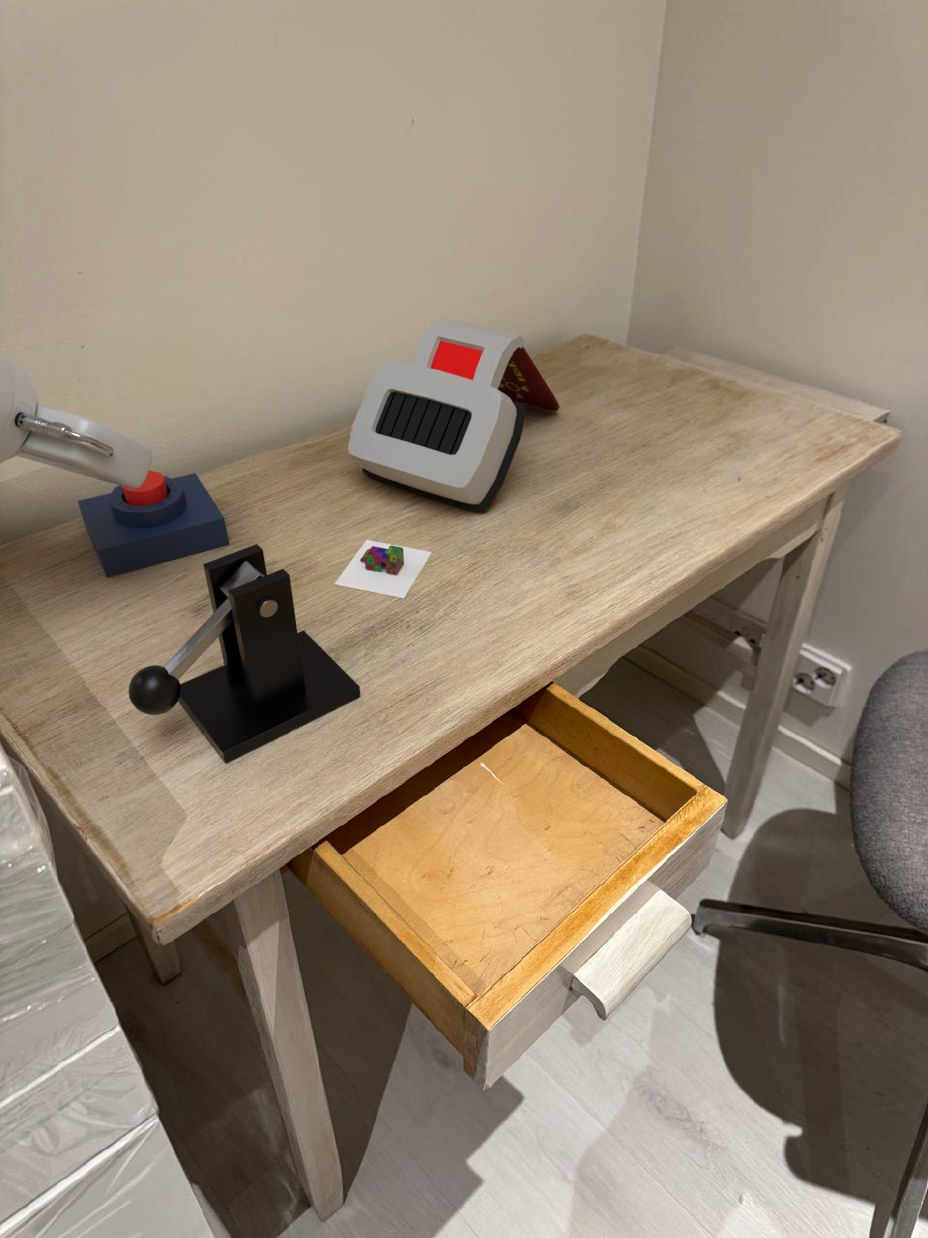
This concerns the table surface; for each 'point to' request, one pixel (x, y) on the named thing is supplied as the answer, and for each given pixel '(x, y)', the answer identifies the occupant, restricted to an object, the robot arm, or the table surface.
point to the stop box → (153, 526)
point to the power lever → (184, 655)
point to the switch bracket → (261, 665)
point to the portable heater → (449, 414)
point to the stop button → (147, 491)
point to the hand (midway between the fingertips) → (99, 465)
